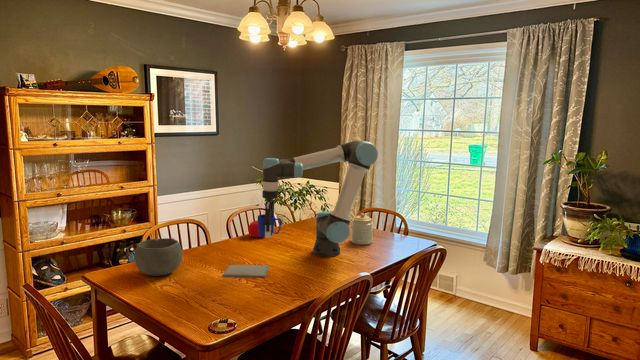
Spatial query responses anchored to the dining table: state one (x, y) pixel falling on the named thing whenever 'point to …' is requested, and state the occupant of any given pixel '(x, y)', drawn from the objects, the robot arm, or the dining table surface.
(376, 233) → the dining table surface
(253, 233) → the tomato
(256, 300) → the dining table surface
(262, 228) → the mug
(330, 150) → the robot arm
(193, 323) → the dining table surface
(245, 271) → the plate
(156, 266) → the bowl
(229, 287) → the dining table surface
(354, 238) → the jar
